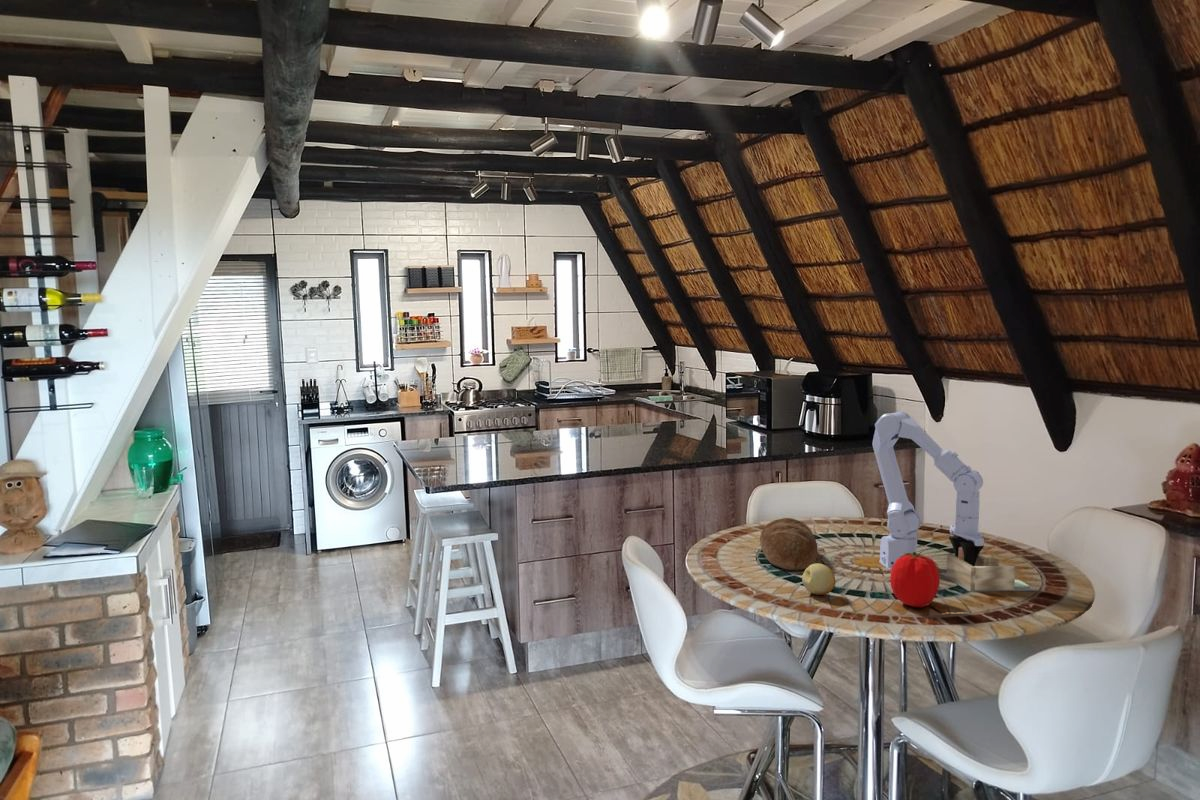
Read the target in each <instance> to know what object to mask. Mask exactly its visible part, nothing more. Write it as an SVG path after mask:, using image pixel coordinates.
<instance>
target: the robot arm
mask: <svg viewBox="0 0 1200 800" xmlns="http://www.w3.org/2000/svg"><path fill="white" fill-rule="evenodd" d="M874 428H875V429H874V434H873V439H872V448H873V451H874V452H873V453H874V456H875V459H876V463H877V466H878V470H879V474H880V478H881V481H882V484H883V487H884V488H883V489H884V490H885V491H884V493H885V495H886V498H887V502H888V507H887V511H886V514H887V523H886V526H887V530H888V532H889V535H887V536H885V535H883V536H882V537H881V538H880V543H879V545H880V546H879V561H878V563H879V564H881V565H883V566H884V567H885V568H887V569H888V570H891V569H892V567H893V564H894V563H895V562H896V560H897V559H898V558H900V556H903V555H904V554H907V553H913V552H916V554H918V553H917V552H918V550H917V549H918V534H917V533H918V532H917V531H918V530H919V528H921V524H922V519H921V517H920V516H919V514H918V513H917V512H916V510H915V507H914V505H913V504H912V503H911V501H910V500H909V498H908V495H907V491H906V488H905V484H904V480H903V477H902V473H901V470H900V467H899V464H898V460H897V456H896V453H895V449H894V446H895V444H896V443H897V441H898V440H899V439H900V438H903V439H909V440H912V441H913V442H914V443H915V444H916V445H918V446H919V447H920V448H921V449H922V450H923V451H925V452H926V453H927V455H929V456H930V457H932V458H933V465H934V466H935V467H936V468H937V469H938V470H939V471H940V472H941V473H942V474H943V475H944V476H946V478H947V479H948V480H949V481H951V483H953V487H954V490H955V491H956V502H955V521H954V522H955V523H954V525H950V526H949V533H950V534H953V535H950V536H948V540H949V541H950V543H951V546H952V549H953V552H954V556H956V557H958V553H959V547H960V546H962V549H963V553H964V561H965V562H967V563H968V564H970V565H972V566H975V563H976V560H977V557H978V555H979V554H980V553H981V551H982V549H984V547H985V538H983V537H982V536H983V532H982V531H980V530H979V522H980V521H979V520H980V492H981V491H980V490H981V488H982V487H983V485H984V480H983V477H982V475H981V474H980V472H979V471H977V470H973V469H972V467H971V466H969V465H968V466H967V465H966V464H965V463H964V462H963V461H962V460H961V459H960V458H959V454H958V453H957V452H955V451H954V452H952V451H951V450H949V449H948V450H945V449H943V448H942V447H940V445H939V444H938V443H937V442H936V441H935V440H934V439H933V438H932V437H931V436H930V435H929V434H928V433H927V432H926V431H925V430H924V429H923V427H921V425H920V424H919V423H918V422H917V421H916V419H914V418H913V417H911V416H910V415H909V413H907V412H905V411H902V410H901V411H900V410H899V411H896V412H891V413H890V412H889V413H884V414H882V415H881V416H880V417H879V418H878V419H877V420H876V422H875V423H874Z"/></svg>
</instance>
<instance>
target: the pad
mask: <svg viewBox="0 0 1200 800" xmlns="http://www.w3.org/2000/svg"><path fill="white" fill-rule="evenodd" d="M1029 586H1030V585H1029V584H1027V583H1025V582H1024V581H1022V580H1020V579H1017V580H1015V582H1014V587H1029Z"/></svg>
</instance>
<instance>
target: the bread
mask: <svg viewBox="0 0 1200 800" xmlns="http://www.w3.org/2000/svg"><path fill="white" fill-rule="evenodd" d="M759 542H760V543H759V544H760V548H761V550H762V553H763V554H764V556H765V559H766V560H767V561H768V562H769V563H770V564H771V565H773V566H774V567H778V568H781V569H783V570H786V571H787V570H788V571H802V570H804V571H805V570H806V568H808V567H809V566H810V565H811V564H815V563H816V560H817V557H818V555H819V554H818V551H819V550H818V543H817V541H816V537H815V535H814V533H813V531H812V529H811V528H810V527H809V526H808V525H807V524H806V523H804V522H803V521H800V520H798V519H795V518H792V517H791V518H790V517H784V518H779V519H774V520H771V522H769V523H767V524H766V525H765V526H764V527H763V529H762V530H761V532H760V536H759Z"/></svg>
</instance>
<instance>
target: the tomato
mask: <svg viewBox="0 0 1200 800" xmlns="http://www.w3.org/2000/svg"><path fill="white" fill-rule="evenodd" d="M923 552H924V550H922V551H920V552H918V553H917V554H916V552H913V553H907V554H904V555H903V556H900V558H898V559H897V560H896V562H895V563H894V564H893V567H892V569H890V575H889V576H890V577H889V579H890V589H891V590H892V593H893V594H894V596H895V598H896V599H897V600H898V601H900V602H901V603H903V604H904V605H906V606H907V605H908V606H910V607H913V608H924V607H925V606H928V605H930V604H931V603H932V602H933V600H934V599H935V597H936V596H937V593H938V591H939V587H940V584H941V583H940V572H939V570H938V566H937V565H936V563H935V561H934V560H933V559H932V558H930V557H928V556H926V555H921V554H922V553H923Z"/></svg>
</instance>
